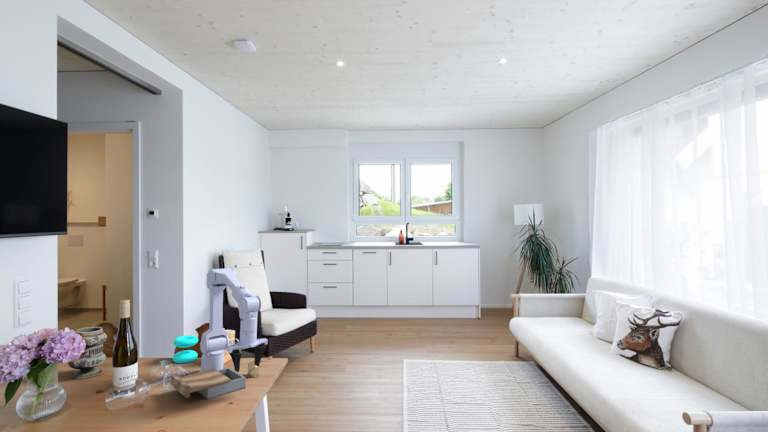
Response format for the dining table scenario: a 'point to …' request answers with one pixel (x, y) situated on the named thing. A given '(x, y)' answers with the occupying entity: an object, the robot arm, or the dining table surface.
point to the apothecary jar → (90, 353)
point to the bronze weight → (252, 370)
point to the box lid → (198, 381)
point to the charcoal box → (225, 384)
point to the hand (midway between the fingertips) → (247, 368)
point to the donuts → (186, 354)
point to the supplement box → (231, 341)
